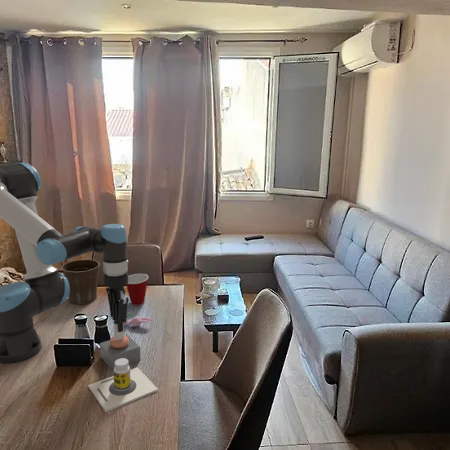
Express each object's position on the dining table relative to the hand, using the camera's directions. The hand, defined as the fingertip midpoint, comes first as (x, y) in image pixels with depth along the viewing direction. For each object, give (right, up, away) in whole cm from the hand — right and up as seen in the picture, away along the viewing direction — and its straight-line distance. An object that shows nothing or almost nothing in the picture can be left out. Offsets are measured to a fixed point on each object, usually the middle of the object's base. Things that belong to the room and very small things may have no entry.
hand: (119, 339), depth 136 cm
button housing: (0, -7, +2) cm, 7 cm away
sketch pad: (+5, -11, -14) cm, 19 cm away
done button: (0, -5, +1) cm, 6 cm away
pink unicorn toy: (-1, -2, +24) cm, 25 cm away
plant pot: (-29, +4, +49) cm, 57 cm away
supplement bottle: (+5, -10, -14) cm, 18 cm away
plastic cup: (-4, +3, +45) cm, 46 cm away
